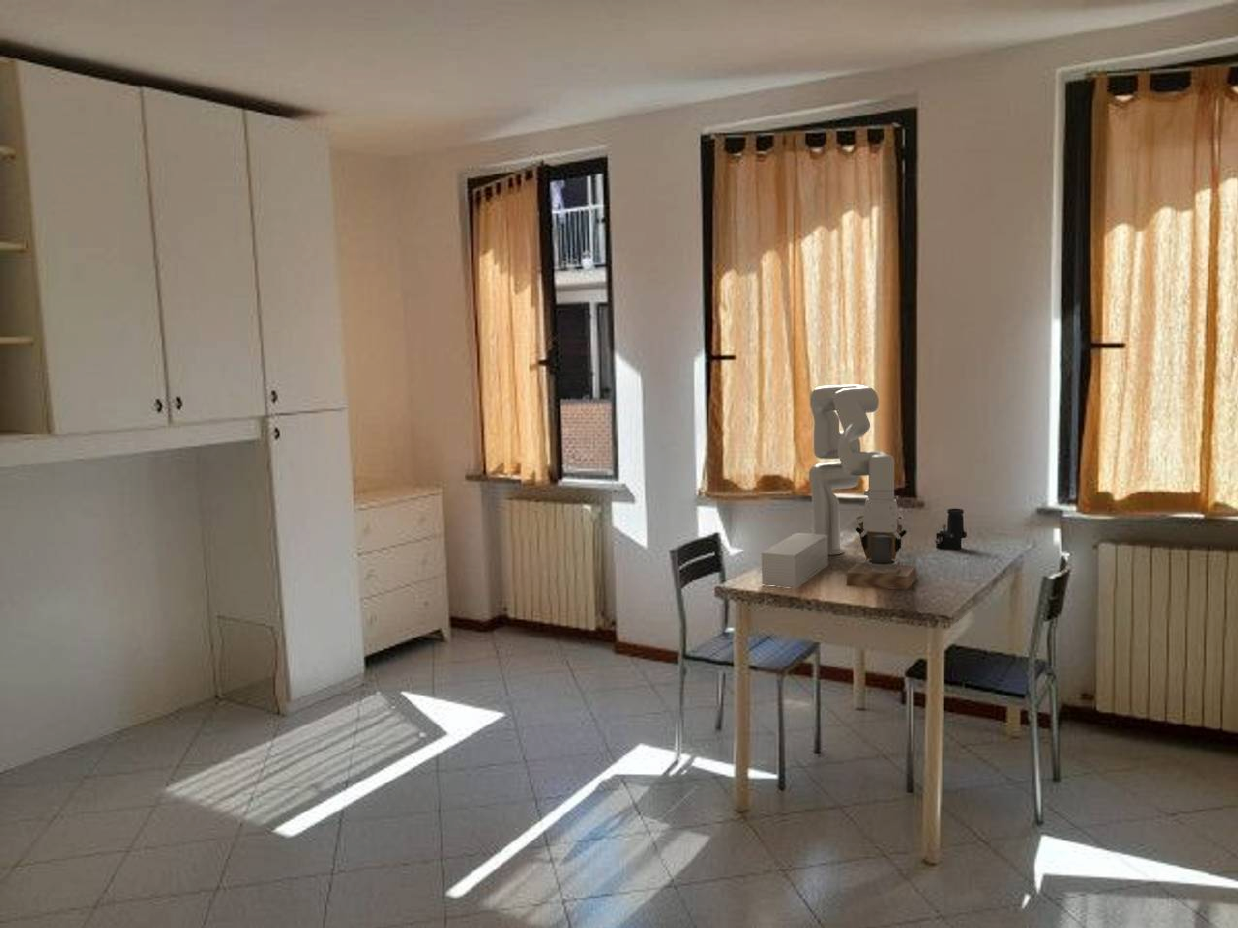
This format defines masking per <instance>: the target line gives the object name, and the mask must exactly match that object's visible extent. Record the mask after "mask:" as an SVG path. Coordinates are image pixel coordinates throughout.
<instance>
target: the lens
mask: <svg viewBox="0 0 1238 928" xmlns="http://www.w3.org/2000/svg"><path fill="white" fill-rule="evenodd" d="M871 562H872V563H873V564H883V565H885V564H892V537H890V536H885V535H877V536H872V537H871Z"/></svg>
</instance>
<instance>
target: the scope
mask: <svg viewBox="0 0 1238 928" xmlns="http://www.w3.org/2000/svg"><path fill="white" fill-rule="evenodd" d="M946 512H947V520H946V521H947V523H946V524H945V523H943V524H942V530H939V532H936V533H935V534H936V535H935V536H936V537H935V538H936V539H935V540H934V543H935V544H936V549H944V550H951V551H959V550H962V539H966V538H967V537H968V535H967V534H968V533H967V531H965V527H964V525H965V524H964V514H965V511H964V509H962V508H948V509H947V510H946Z"/></svg>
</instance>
